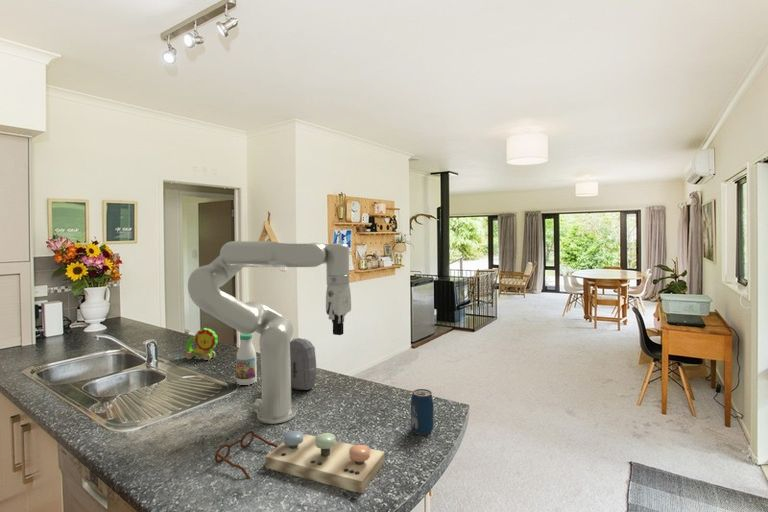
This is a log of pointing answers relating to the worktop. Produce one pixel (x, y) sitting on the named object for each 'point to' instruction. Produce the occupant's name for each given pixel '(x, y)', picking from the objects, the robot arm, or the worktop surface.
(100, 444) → the worktop surface
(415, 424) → the soda can
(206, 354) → the toy lion
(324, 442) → the sage key
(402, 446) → the worktop surface
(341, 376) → the worktop surface
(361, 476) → the wooden button board
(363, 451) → the terracotta key
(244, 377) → the milk bottle
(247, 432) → the glasses
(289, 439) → the slate-blue key
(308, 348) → the small grey backpack
